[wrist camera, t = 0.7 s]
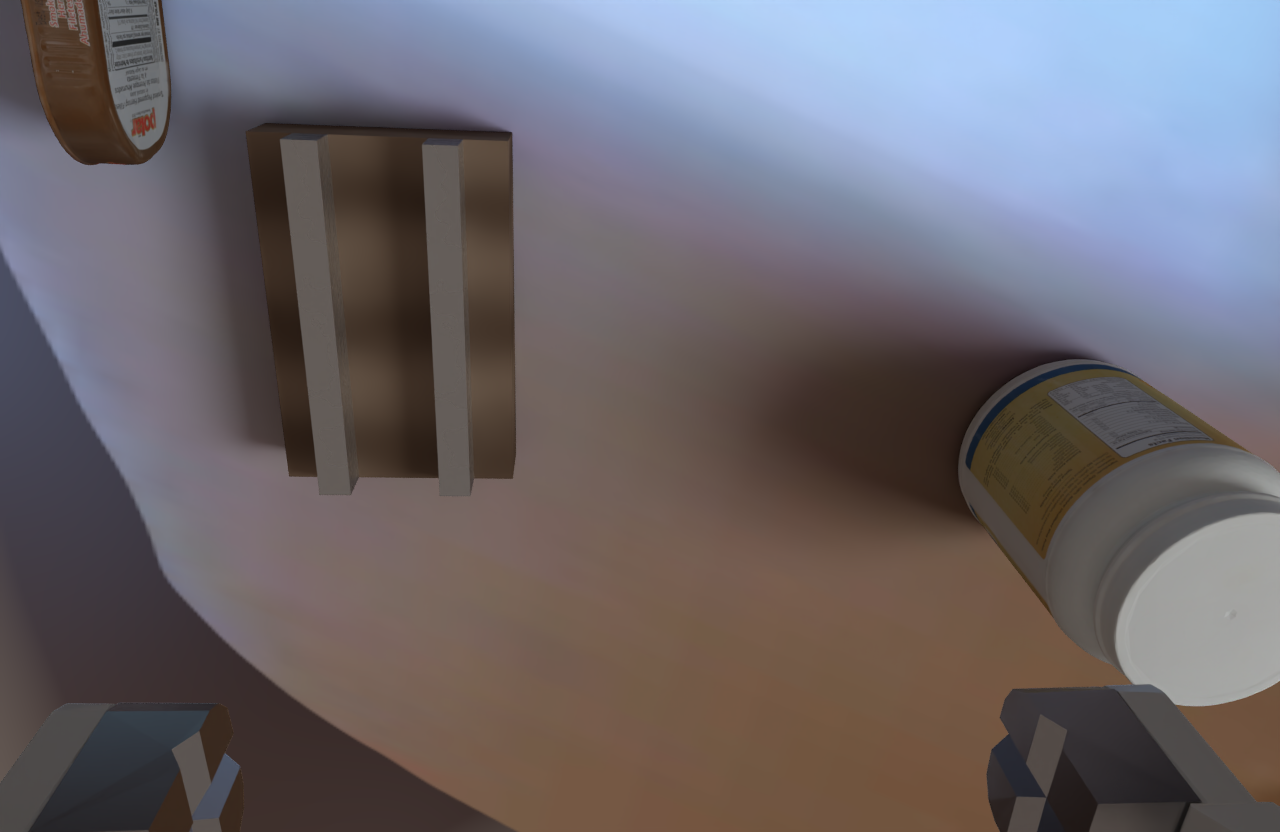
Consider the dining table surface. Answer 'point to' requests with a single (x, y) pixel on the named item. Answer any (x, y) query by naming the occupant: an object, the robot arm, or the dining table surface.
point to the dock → (389, 300)
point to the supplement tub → (1133, 527)
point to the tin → (102, 76)
